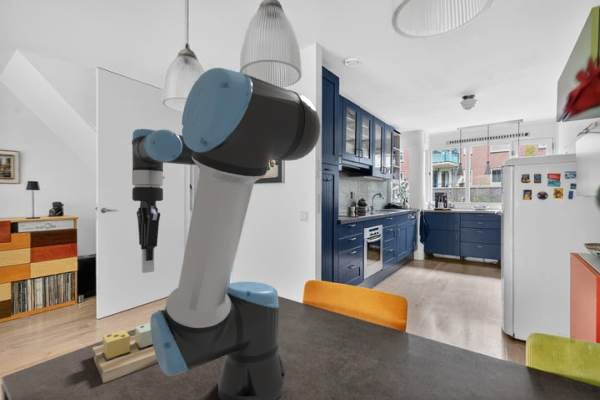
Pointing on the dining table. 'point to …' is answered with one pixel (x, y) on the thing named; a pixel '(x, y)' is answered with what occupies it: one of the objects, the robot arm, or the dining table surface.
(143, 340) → the tile two
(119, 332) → the tile three
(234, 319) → the robot arm
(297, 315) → the dining table surface
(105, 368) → the board
